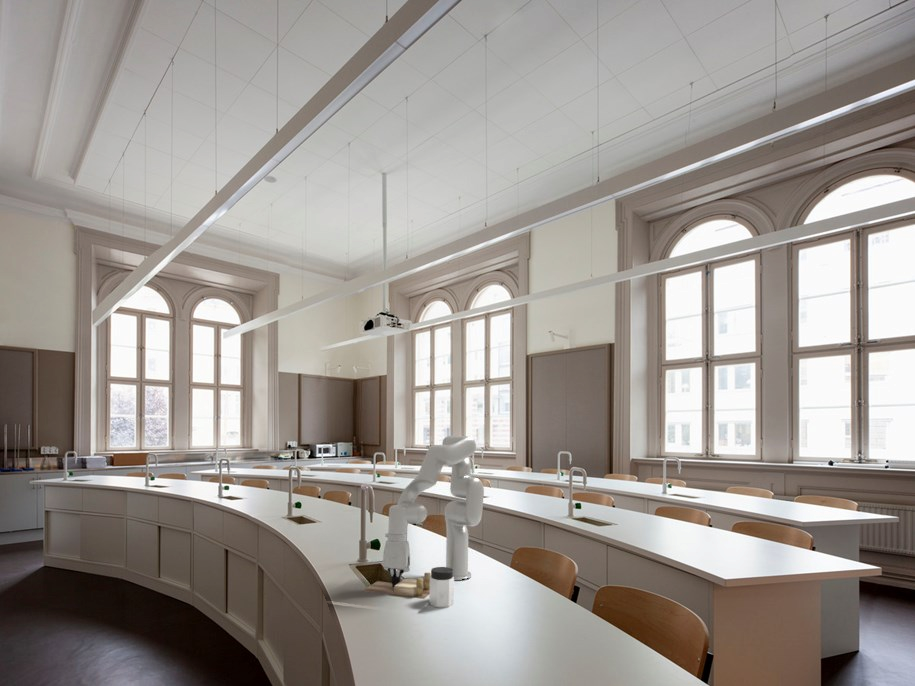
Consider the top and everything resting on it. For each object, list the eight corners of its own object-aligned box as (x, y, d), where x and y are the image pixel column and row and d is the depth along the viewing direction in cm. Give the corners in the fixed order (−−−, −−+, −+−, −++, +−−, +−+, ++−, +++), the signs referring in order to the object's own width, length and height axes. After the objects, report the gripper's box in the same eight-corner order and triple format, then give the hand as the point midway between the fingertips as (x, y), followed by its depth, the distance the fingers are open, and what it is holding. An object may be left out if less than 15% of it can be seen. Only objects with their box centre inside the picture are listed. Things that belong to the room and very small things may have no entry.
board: (377, 583, 225) (378, 565, 226) (436, 590, 217) (437, 572, 218) (361, 593, 212) (361, 574, 213) (423, 601, 204) (424, 581, 205)
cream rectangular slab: (406, 585, 220) (406, 577, 220) (424, 587, 218) (425, 579, 218) (394, 594, 209) (394, 585, 209) (413, 596, 206) (413, 588, 207)
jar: (430, 608, 197) (431, 572, 199) (428, 600, 205) (429, 567, 207) (455, 607, 198) (455, 572, 200) (452, 600, 206) (452, 566, 208)
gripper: (376, 537, 216) (374, 586, 214) (411, 541, 212) (409, 591, 209) (384, 534, 224) (382, 581, 221) (418, 537, 219) (417, 586, 216)
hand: (395, 586), depth 215 cm, fingers closed
